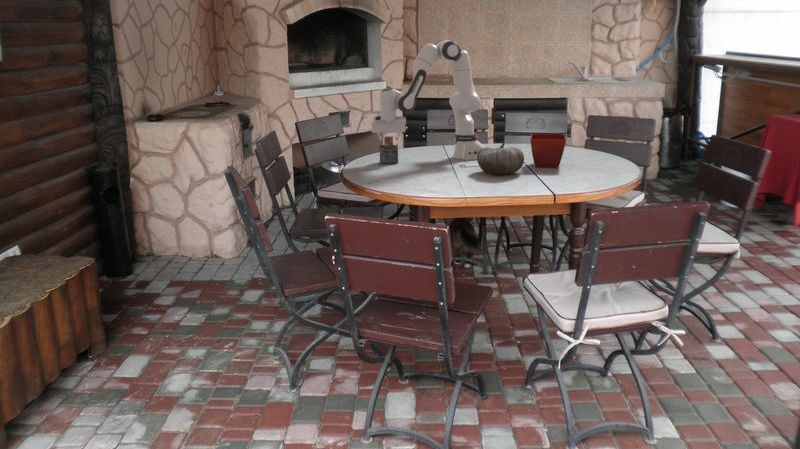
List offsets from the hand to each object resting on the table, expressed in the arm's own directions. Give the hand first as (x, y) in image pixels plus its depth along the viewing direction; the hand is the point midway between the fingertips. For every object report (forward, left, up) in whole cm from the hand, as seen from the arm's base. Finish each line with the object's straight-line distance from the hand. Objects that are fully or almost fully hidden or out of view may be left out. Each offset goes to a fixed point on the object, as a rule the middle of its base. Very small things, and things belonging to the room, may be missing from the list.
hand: (388, 140), depth 407 cm
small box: (0, 0, -14) cm, 14 cm away
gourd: (-60, +35, -14) cm, 71 cm away
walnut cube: (0, 0, -3) cm, 3 cm away
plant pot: (-90, +17, -14) cm, 93 cm away
